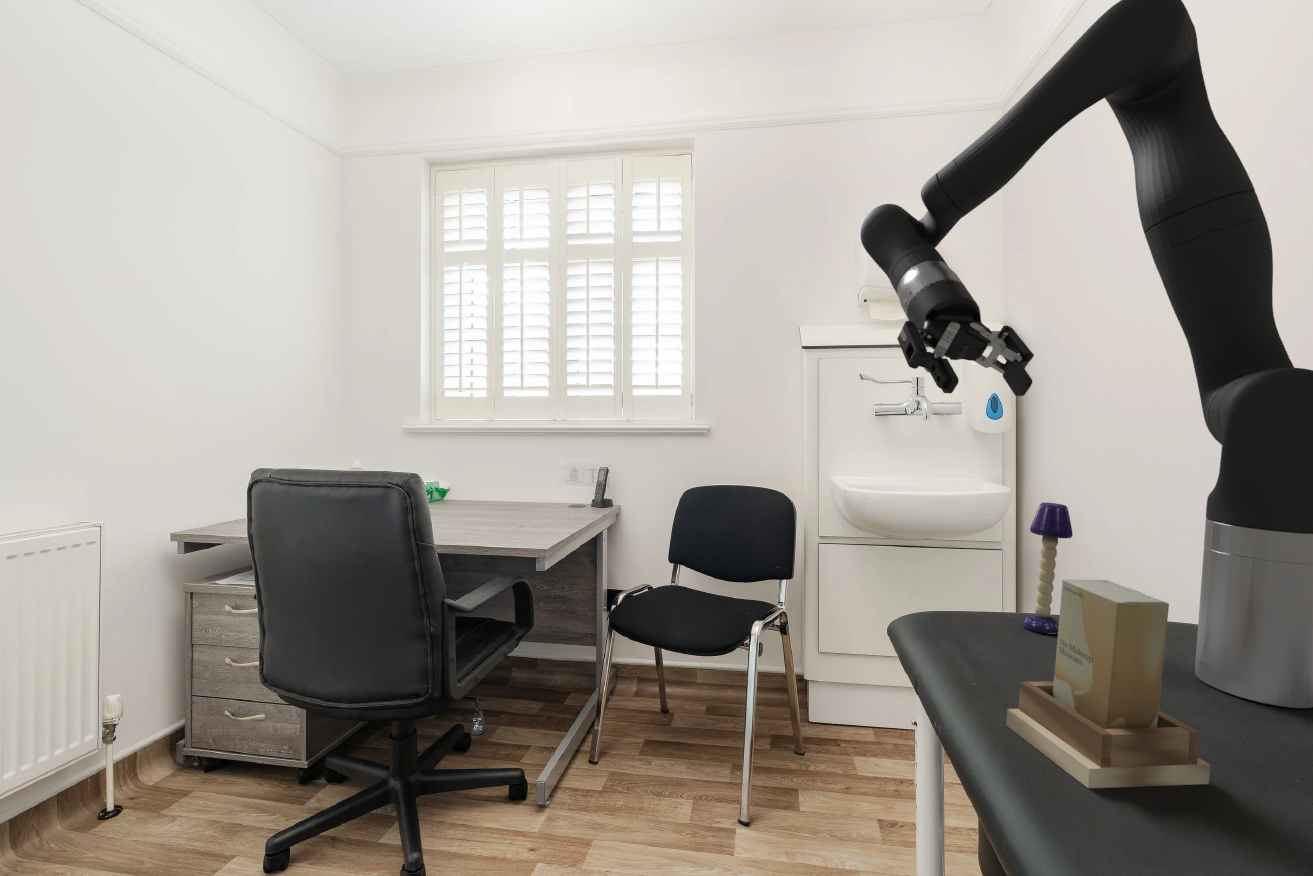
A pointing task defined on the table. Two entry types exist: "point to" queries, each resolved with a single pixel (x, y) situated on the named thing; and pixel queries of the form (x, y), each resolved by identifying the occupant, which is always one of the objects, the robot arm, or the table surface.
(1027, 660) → the table surface
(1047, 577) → the toy lamp
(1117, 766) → the wooden tray
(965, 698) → the table surface
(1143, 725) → the skincare box
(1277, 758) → the table surface
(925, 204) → the robot arm
